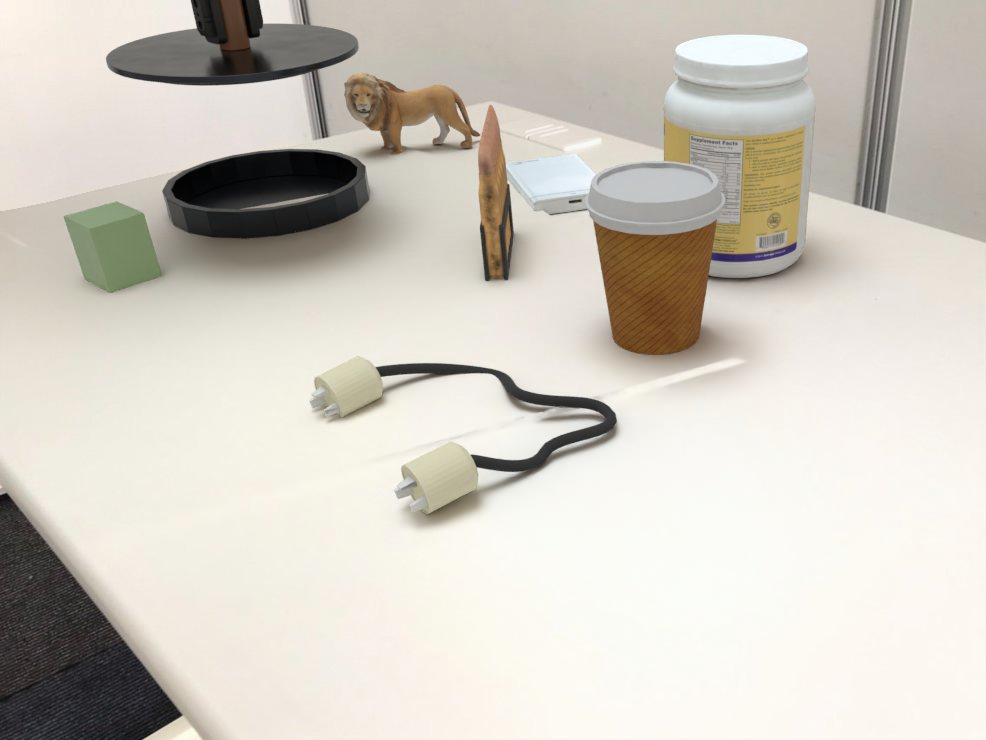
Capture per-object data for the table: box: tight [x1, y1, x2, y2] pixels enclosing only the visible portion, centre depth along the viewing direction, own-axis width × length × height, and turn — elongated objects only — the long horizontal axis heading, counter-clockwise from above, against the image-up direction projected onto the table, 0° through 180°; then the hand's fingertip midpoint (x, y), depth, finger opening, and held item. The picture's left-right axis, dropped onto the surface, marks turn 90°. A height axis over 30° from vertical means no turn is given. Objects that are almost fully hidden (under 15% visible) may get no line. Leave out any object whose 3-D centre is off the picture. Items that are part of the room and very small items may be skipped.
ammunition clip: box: [477, 104, 515, 282], centre depth 86 cm, size 11×2×12 cm, turn 3°
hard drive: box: [506, 153, 598, 215], centre depth 104 cm, size 2×8×12 cm
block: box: [63, 201, 163, 294], centre depth 85 cm, size 4×4×6 cm
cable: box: [308, 355, 618, 515], centre depth 66 cm, size 16×16×4 cm
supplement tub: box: [662, 34, 817, 279], centre depth 85 cm, size 12×12×17 cm
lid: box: [105, 0, 360, 87], centre depth 84 cm, size 20×20×7 cm
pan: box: [161, 148, 370, 240], centre depth 101 cm, size 19×19×3 cm
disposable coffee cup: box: [585, 160, 725, 356], centre depth 73 cm, size 10×10×12 cm
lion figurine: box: [343, 72, 481, 156], centre depth 114 cm, size 15×5×9 cm, turn 121°
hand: (233, 38), depth 85 cm, fingers closed on lid, 2 cm apart
